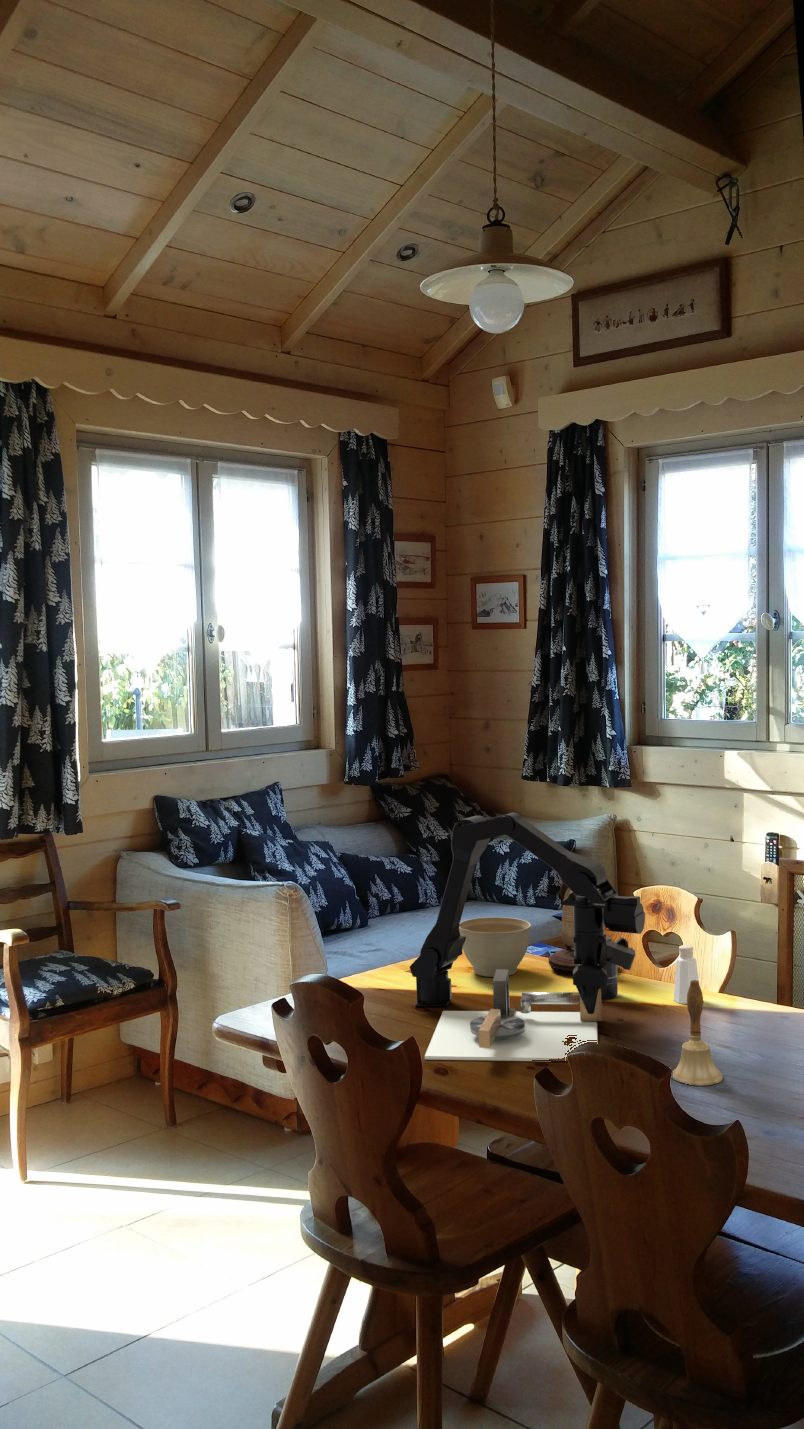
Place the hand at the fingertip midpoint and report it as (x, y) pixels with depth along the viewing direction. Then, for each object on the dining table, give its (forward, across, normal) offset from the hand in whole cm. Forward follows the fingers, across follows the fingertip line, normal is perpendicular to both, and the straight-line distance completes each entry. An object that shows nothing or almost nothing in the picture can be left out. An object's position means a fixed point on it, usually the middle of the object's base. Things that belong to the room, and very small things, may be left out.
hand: (591, 1010), depth 227 cm
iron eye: (+2, 0, +17) cm, 17 cm away
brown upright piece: (+3, +39, +2) cm, 39 cm away
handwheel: (0, -15, +17) cm, 23 cm away
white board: (+2, -9, +14) cm, 17 cm away
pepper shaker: (+2, +15, -19) cm, 24 cm away
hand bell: (+2, -29, -17) cm, 34 cm away
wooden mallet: (+1, 0, +6) cm, 6 cm away
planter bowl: (+3, +36, +21) cm, 42 cm away
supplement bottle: (+2, +18, -2) cm, 18 cm away
